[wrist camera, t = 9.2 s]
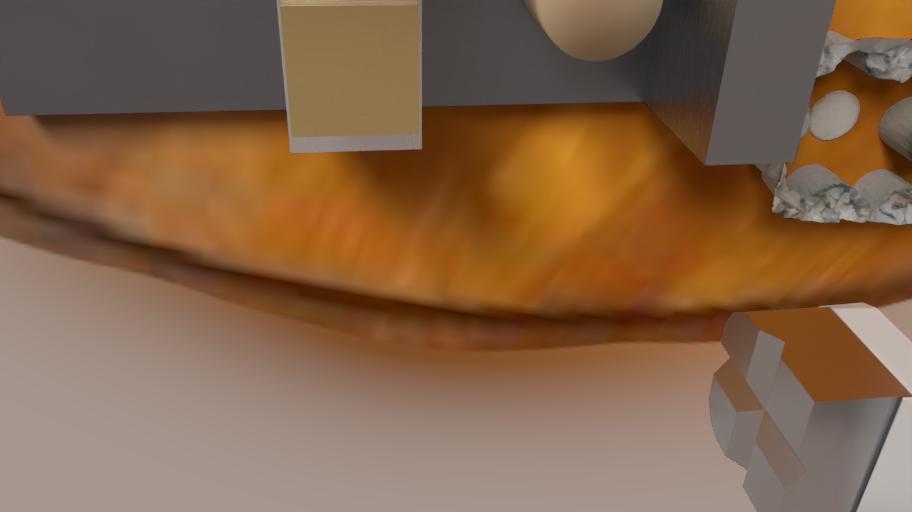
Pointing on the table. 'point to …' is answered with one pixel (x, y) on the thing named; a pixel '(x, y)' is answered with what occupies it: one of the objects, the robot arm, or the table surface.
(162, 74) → the press base
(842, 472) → the robot arm
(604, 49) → the hazelnut
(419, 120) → the block
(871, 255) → the table surface
